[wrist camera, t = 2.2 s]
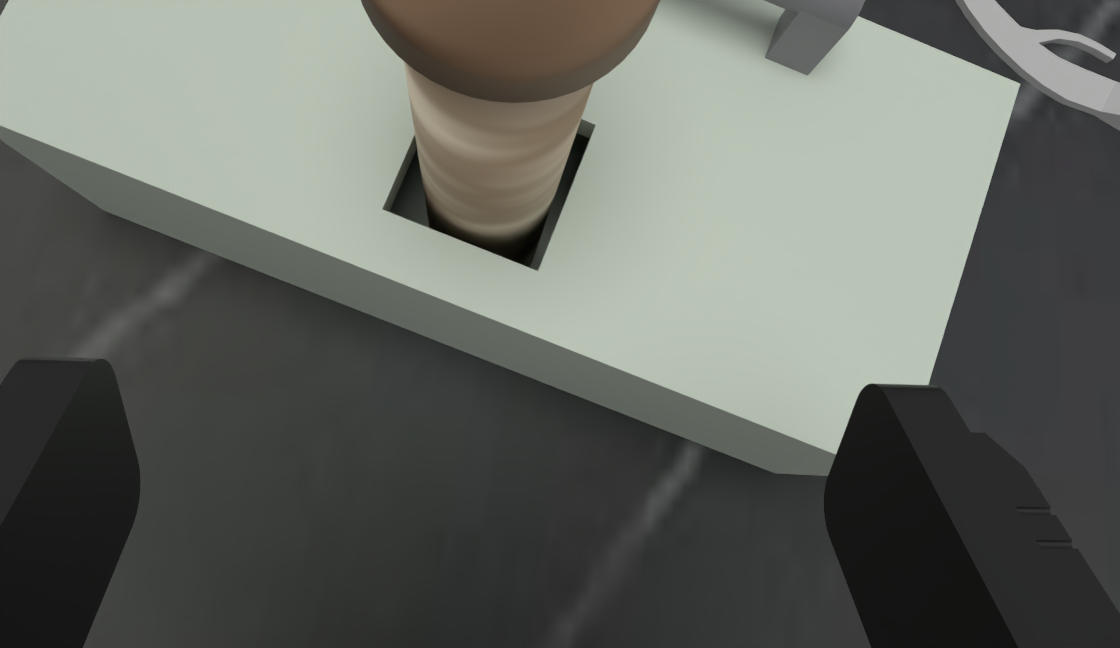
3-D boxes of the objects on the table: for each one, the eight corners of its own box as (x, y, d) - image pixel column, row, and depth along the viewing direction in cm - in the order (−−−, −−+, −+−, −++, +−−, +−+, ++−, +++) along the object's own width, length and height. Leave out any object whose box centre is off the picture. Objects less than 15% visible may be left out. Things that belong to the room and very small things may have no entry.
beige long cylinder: (396, 278, 30) (276, -30, 11) (447, 158, 30) (418, -323, 12) (522, 328, 30) (618, 109, 11) (569, 207, 30) (735, -189, 12)
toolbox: (104, 210, 30) (-135, 47, 18) (243, -72, 32) (109, -389, 20) (774, 473, 31) (968, 483, 19) (870, 184, 33) (1101, 28, 21)
